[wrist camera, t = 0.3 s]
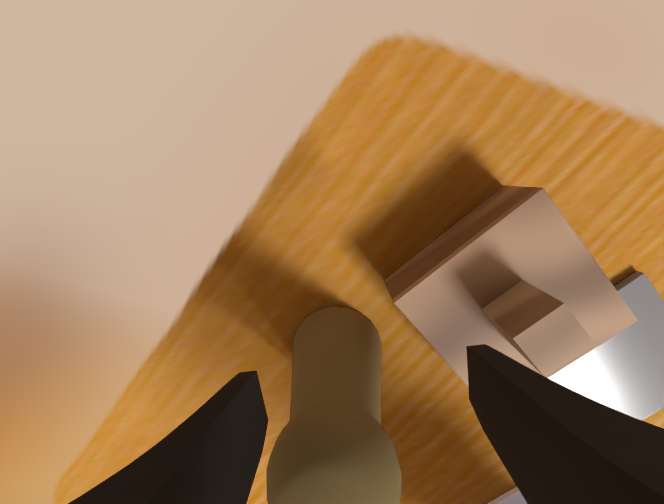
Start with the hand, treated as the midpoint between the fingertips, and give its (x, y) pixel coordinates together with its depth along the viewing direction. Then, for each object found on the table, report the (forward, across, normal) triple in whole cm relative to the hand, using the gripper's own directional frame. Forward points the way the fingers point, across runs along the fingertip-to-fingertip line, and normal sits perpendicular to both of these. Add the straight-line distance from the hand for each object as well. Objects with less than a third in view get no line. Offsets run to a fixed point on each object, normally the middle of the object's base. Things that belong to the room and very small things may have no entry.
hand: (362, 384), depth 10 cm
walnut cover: (+10, -8, +1) cm, 13 cm away
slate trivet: (+10, -16, +8) cm, 21 cm away
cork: (+10, +2, +4) cm, 11 cm away
